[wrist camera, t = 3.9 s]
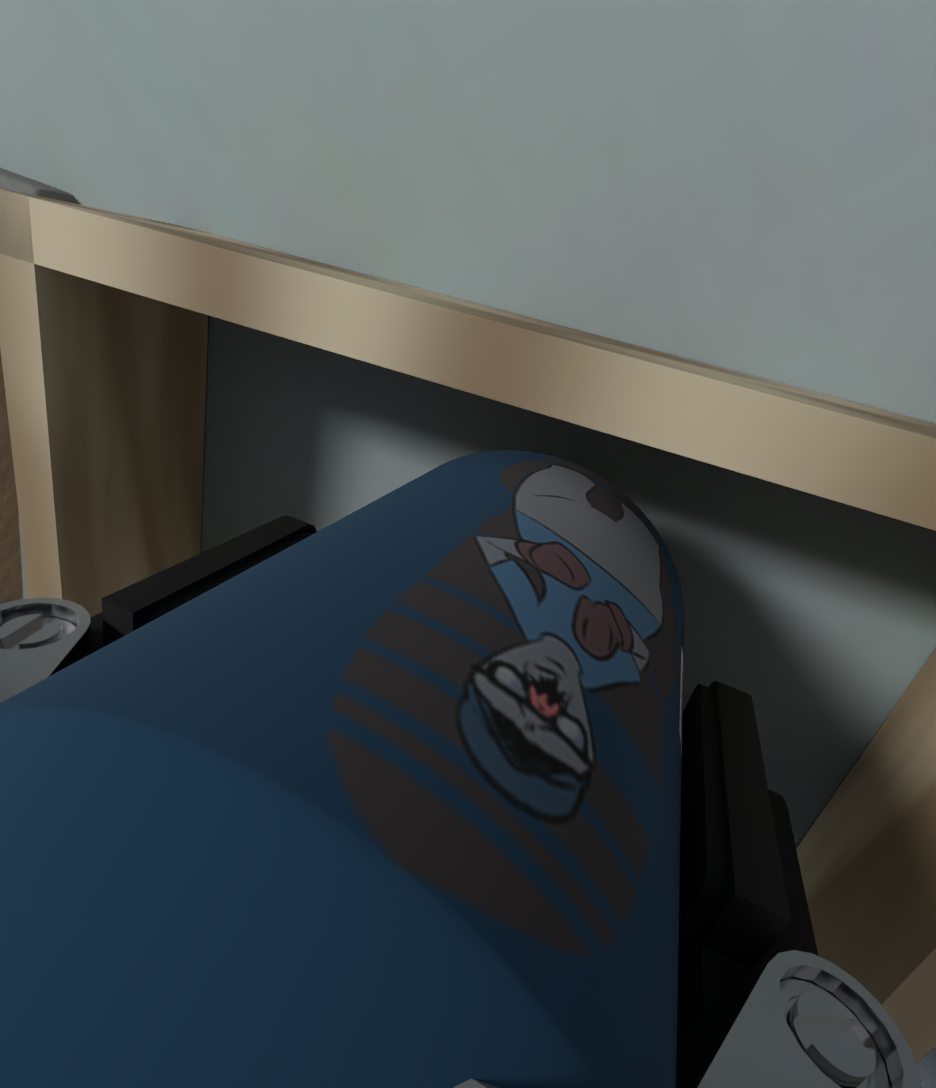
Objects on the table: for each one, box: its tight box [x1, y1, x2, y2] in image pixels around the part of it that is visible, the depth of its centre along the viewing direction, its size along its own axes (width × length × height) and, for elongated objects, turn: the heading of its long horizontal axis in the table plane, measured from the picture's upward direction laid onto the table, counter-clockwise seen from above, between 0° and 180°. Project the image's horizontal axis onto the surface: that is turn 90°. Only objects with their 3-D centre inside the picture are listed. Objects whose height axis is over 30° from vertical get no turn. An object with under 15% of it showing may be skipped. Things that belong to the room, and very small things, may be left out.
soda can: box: [0, 450, 684, 1088], centre depth 8 cm, size 7×7×12 cm
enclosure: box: [0, 188, 936, 1064], centre depth 14 cm, size 23×15×5 cm, turn 76°
